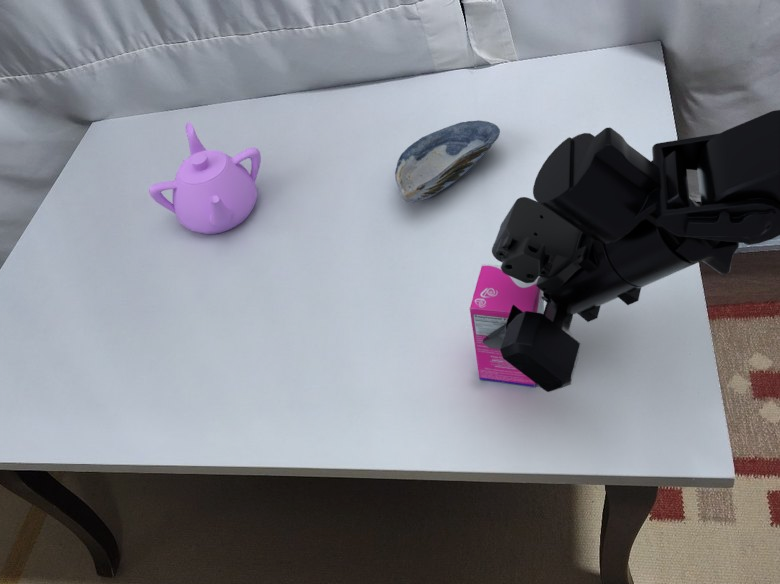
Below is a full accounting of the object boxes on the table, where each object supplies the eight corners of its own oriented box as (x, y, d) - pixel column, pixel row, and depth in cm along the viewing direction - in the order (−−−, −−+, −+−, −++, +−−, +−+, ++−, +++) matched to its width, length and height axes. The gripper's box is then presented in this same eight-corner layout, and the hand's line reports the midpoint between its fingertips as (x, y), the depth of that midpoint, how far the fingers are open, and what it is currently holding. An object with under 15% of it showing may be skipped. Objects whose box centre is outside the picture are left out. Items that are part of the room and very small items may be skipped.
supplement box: (487, 336, 80) (482, 260, 71) (546, 343, 77) (547, 266, 68) (475, 380, 77) (468, 307, 68) (536, 389, 74) (536, 315, 66)
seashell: (500, 217, 90) (499, 185, 86) (395, 224, 93) (389, 193, 89) (500, 135, 98) (499, 103, 94) (404, 144, 102) (399, 113, 98)
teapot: (208, 172, 108) (186, 120, 101) (286, 192, 102) (269, 138, 95) (157, 227, 103) (132, 177, 96) (236, 252, 97) (214, 199, 90)
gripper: (582, 114, 62) (460, 202, 75) (526, 280, 53) (398, 348, 66) (673, 196, 65) (540, 267, 78) (635, 368, 56) (492, 416, 69)
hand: (494, 319), depth 72 cm, fingers closed on supplement box, 6 cm apart
